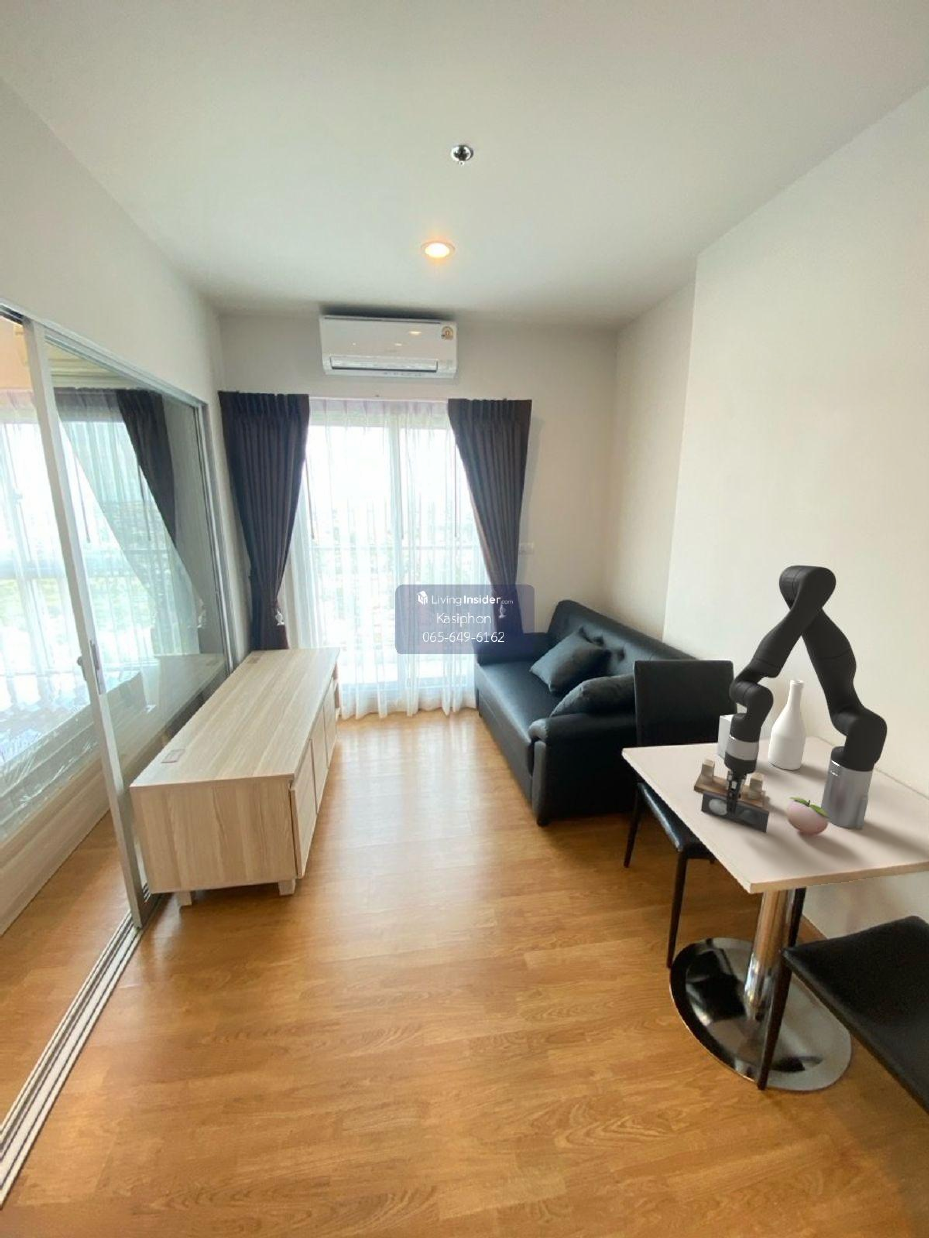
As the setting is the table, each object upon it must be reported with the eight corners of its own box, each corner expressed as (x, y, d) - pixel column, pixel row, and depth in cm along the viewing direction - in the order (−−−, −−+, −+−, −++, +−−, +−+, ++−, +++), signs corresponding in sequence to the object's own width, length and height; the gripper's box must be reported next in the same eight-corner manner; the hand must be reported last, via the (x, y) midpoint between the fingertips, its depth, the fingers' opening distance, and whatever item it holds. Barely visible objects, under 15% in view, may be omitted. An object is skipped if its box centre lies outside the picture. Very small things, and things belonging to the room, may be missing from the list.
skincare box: (747, 764, 161) (752, 724, 157) (730, 765, 160) (736, 725, 157) (730, 751, 169) (735, 713, 165) (714, 753, 168) (719, 714, 165)
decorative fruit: (777, 830, 128) (782, 797, 126) (789, 818, 133) (794, 787, 130) (818, 849, 121) (825, 815, 118) (829, 836, 125) (835, 803, 123)
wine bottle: (761, 760, 163) (774, 678, 156) (777, 753, 167) (790, 674, 160) (790, 773, 155) (805, 688, 148) (806, 766, 159) (821, 682, 152)
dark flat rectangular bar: (766, 830, 128) (769, 811, 127) (765, 833, 127) (768, 814, 126) (702, 808, 138) (704, 790, 136) (700, 811, 136) (703, 792, 135)
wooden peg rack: (765, 795, 143) (769, 771, 142) (761, 811, 136) (765, 787, 134) (700, 775, 154) (703, 753, 152) (693, 790, 146) (696, 766, 144)
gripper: (754, 767, 120) (744, 823, 124) (761, 745, 131) (752, 797, 135) (721, 758, 124) (713, 811, 128) (730, 737, 135) (723, 787, 139)
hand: (733, 804), depth 131 cm, fingers open, 8 cm apart
